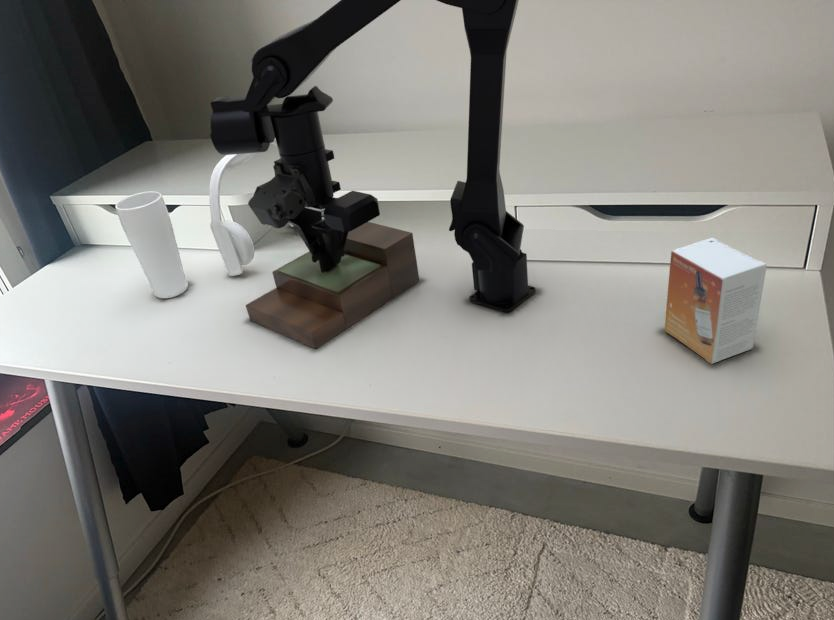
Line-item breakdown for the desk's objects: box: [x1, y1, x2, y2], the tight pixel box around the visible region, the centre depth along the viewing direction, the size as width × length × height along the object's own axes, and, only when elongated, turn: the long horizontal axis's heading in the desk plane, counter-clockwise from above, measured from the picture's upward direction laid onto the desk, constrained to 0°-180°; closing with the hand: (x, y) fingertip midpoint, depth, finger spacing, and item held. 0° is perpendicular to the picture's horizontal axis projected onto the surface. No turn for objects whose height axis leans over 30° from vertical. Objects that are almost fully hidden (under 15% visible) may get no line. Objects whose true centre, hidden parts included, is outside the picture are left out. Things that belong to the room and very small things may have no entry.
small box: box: [663, 237, 768, 365], centre depth 77 cm, size 8×6×10 cm
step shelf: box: [245, 221, 420, 350], centre depth 99 cm, size 14×20×8 cm
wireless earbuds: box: [311, 235, 345, 273], centre depth 96 cm, size 7×2×5 cm, turn 150°
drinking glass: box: [115, 190, 189, 299], centre depth 107 cm, size 7×7×15 cm
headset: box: [208, 139, 295, 277], centre depth 113 cm, size 20×7×18 cm, turn 148°
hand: (327, 261), depth 97 cm, fingers open, 3 cm apart
